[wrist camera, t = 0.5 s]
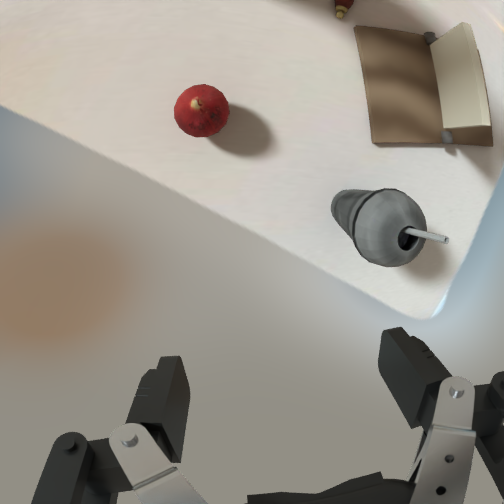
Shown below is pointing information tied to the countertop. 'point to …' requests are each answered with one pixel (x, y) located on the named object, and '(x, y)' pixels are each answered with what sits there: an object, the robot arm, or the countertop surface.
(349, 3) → the gavel
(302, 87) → the countertop surface
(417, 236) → the beverage cup
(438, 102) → the walnut board
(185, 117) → the onion
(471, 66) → the tile
